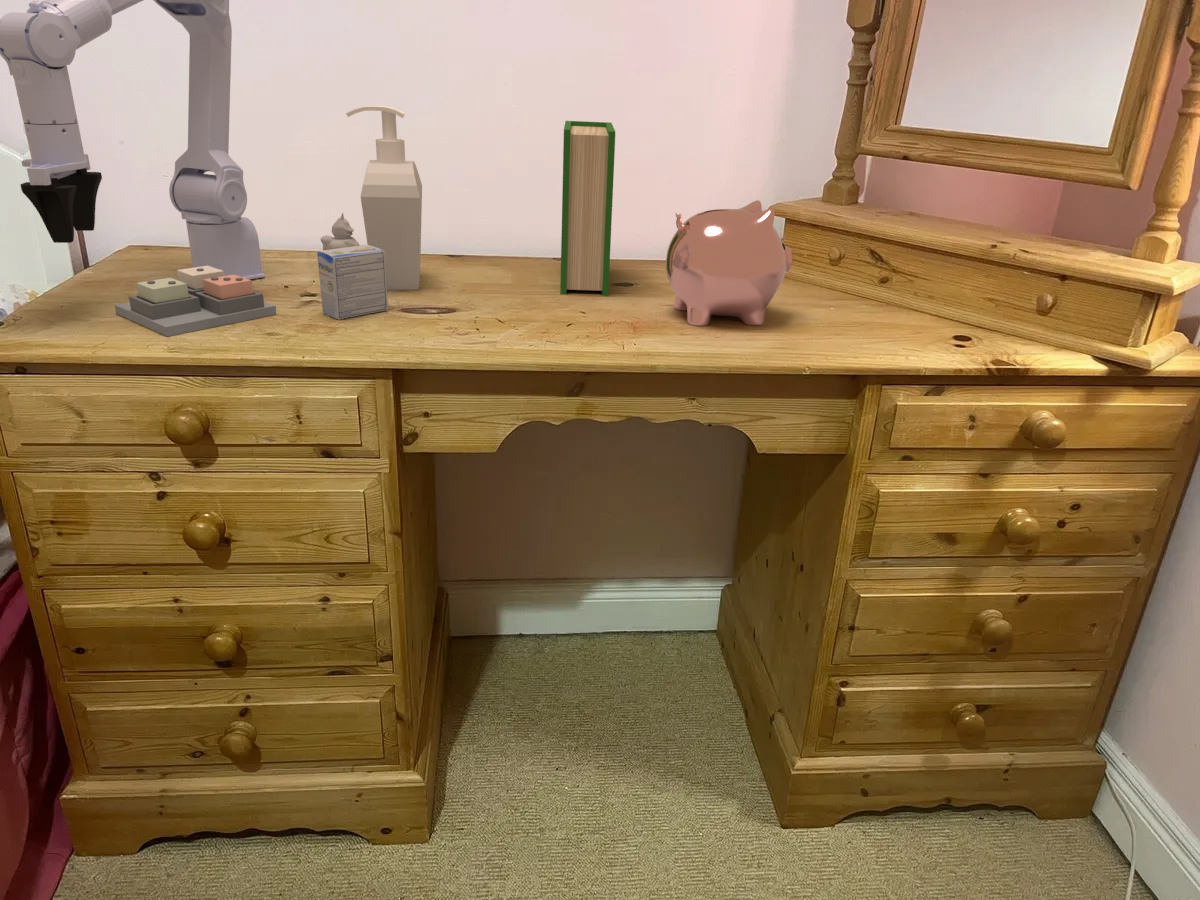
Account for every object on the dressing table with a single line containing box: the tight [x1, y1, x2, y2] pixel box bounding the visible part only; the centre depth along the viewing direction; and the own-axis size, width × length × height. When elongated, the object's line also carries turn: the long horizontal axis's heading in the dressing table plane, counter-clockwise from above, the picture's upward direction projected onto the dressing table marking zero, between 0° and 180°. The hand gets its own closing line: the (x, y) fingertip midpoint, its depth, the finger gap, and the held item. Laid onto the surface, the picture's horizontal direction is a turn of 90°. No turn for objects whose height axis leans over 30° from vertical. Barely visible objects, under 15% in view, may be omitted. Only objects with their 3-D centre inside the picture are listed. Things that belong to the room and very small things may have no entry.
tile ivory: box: [176, 266, 225, 289], centre depth 121 cm, size 4×4×2 cm
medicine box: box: [316, 244, 389, 321], centre depth 120 cm, size 8×4×9 cm, turn 134°
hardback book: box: [559, 120, 616, 297], centre depth 139 cm, size 18×7×24 cm, turn 1°
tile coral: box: [203, 275, 254, 299], centre depth 117 cm, size 4×4×2 cm
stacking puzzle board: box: [114, 286, 277, 337], centre depth 118 cm, size 15×14×3 cm
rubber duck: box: [320, 212, 361, 251], centre depth 150 cm, size 5×7×8 cm
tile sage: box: [136, 277, 189, 303], centre depth 114 cm, size 4×4×2 cm
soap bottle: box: [346, 105, 423, 291], centre depth 132 cm, size 12×10×26 cm
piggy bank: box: [665, 199, 793, 327], centre depth 125 cm, size 15×18×16 cm
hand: (74, 236), depth 112 cm, fingers open, 7 cm apart
